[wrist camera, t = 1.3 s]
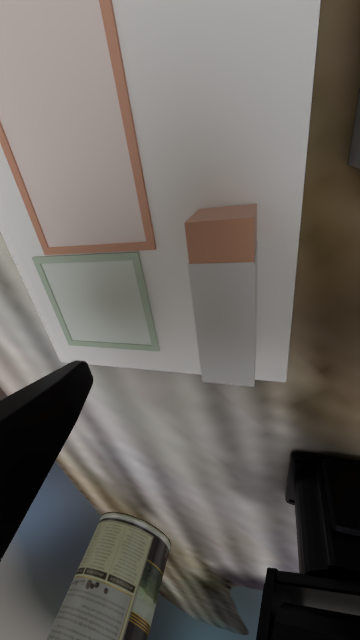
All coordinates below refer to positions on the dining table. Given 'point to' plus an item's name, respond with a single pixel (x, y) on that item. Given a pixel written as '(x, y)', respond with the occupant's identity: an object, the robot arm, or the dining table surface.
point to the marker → (224, 291)
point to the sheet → (150, 163)
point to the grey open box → (355, 140)
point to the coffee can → (115, 583)
